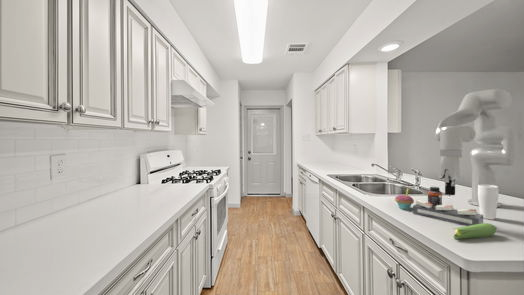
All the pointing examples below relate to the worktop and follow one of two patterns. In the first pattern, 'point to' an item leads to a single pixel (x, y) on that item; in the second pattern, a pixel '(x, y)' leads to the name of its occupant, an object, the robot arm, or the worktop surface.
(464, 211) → the block
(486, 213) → the drinking glass
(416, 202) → the rocker
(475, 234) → the edible corn
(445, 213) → the rocker switch panel
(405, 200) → the cupcake
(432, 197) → the supplement bottle
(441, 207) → the plate
